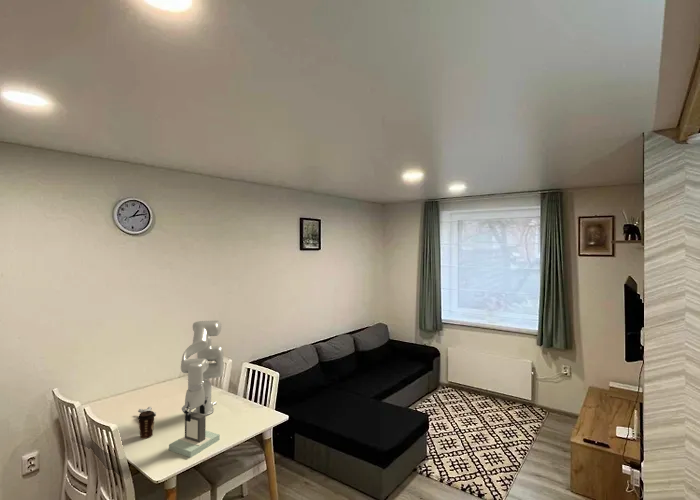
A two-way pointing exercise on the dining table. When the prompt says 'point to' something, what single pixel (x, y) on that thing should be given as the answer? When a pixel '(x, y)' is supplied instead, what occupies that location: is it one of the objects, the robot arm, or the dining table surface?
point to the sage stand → (193, 444)
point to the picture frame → (195, 427)
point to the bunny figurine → (146, 410)
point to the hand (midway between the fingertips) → (195, 417)
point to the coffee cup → (146, 424)
